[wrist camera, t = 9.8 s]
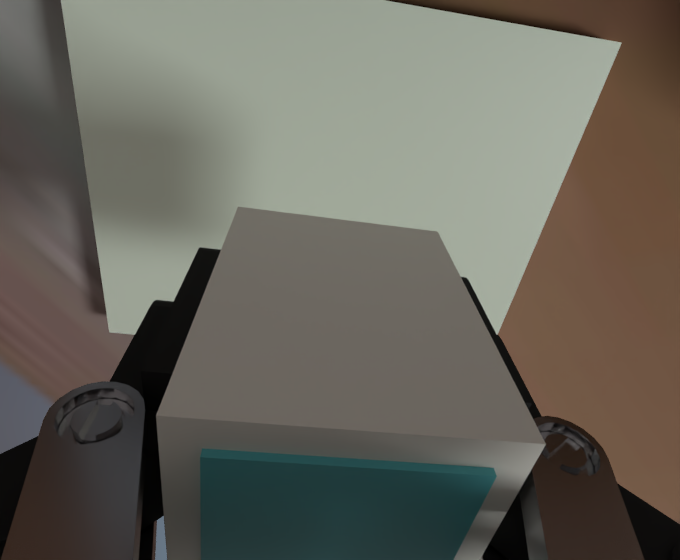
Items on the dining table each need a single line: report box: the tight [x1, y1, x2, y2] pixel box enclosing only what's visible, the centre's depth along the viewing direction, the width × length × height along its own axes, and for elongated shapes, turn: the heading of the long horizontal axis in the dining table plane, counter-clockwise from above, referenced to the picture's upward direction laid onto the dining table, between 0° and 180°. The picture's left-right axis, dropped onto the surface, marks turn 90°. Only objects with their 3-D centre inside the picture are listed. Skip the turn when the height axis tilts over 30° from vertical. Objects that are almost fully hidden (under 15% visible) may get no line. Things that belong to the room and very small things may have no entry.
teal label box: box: [156, 207, 546, 560], centre depth 9 cm, size 5×5×6 cm
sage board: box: [61, 0, 621, 335], centre depth 17 cm, size 13×16×1 cm
